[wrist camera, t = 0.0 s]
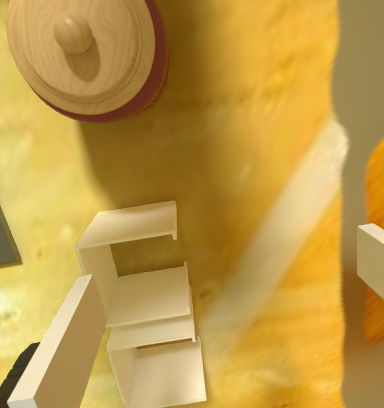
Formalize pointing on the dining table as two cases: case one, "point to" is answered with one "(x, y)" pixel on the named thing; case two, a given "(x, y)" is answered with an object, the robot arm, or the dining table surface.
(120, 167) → the dining table surface
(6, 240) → the cup holder
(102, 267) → the desk organizer
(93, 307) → the robot arm
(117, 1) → the canister
